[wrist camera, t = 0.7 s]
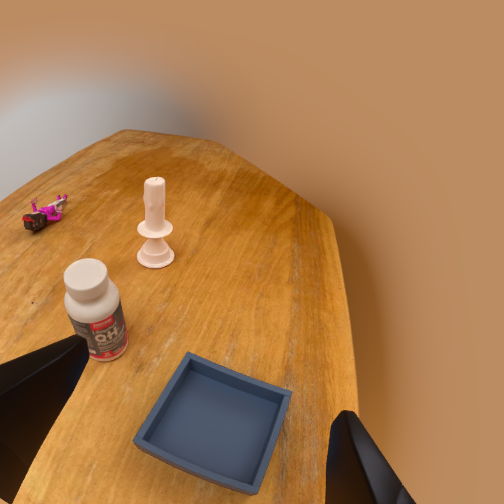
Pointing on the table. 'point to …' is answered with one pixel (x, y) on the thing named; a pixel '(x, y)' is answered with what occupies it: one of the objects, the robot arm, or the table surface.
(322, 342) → the table surface
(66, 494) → the table surface
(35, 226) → the character figurine
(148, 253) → the candle
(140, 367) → the table surface
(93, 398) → the table surface
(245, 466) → the tray
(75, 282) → the pill bottle
